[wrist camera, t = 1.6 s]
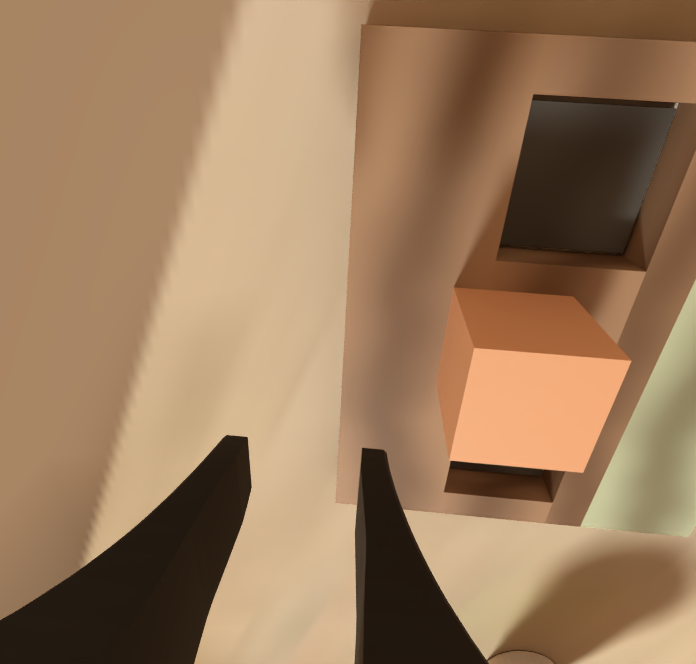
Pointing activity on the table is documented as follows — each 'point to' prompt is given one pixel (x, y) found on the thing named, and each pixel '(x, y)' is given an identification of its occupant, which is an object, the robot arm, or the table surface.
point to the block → (525, 380)
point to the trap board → (523, 257)
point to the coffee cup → (519, 658)
